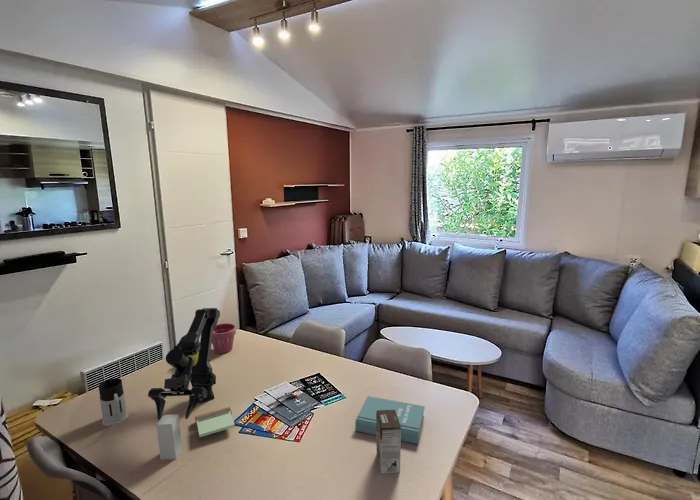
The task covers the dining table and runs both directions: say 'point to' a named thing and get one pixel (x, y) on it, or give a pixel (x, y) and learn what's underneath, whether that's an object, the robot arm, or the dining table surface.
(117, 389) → the glass holder
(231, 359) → the dining table surface
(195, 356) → the apple
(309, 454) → the dining table surface
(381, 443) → the coffee box
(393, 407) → the book
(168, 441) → the block
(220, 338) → the plant pot
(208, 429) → the trapdoor
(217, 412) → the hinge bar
